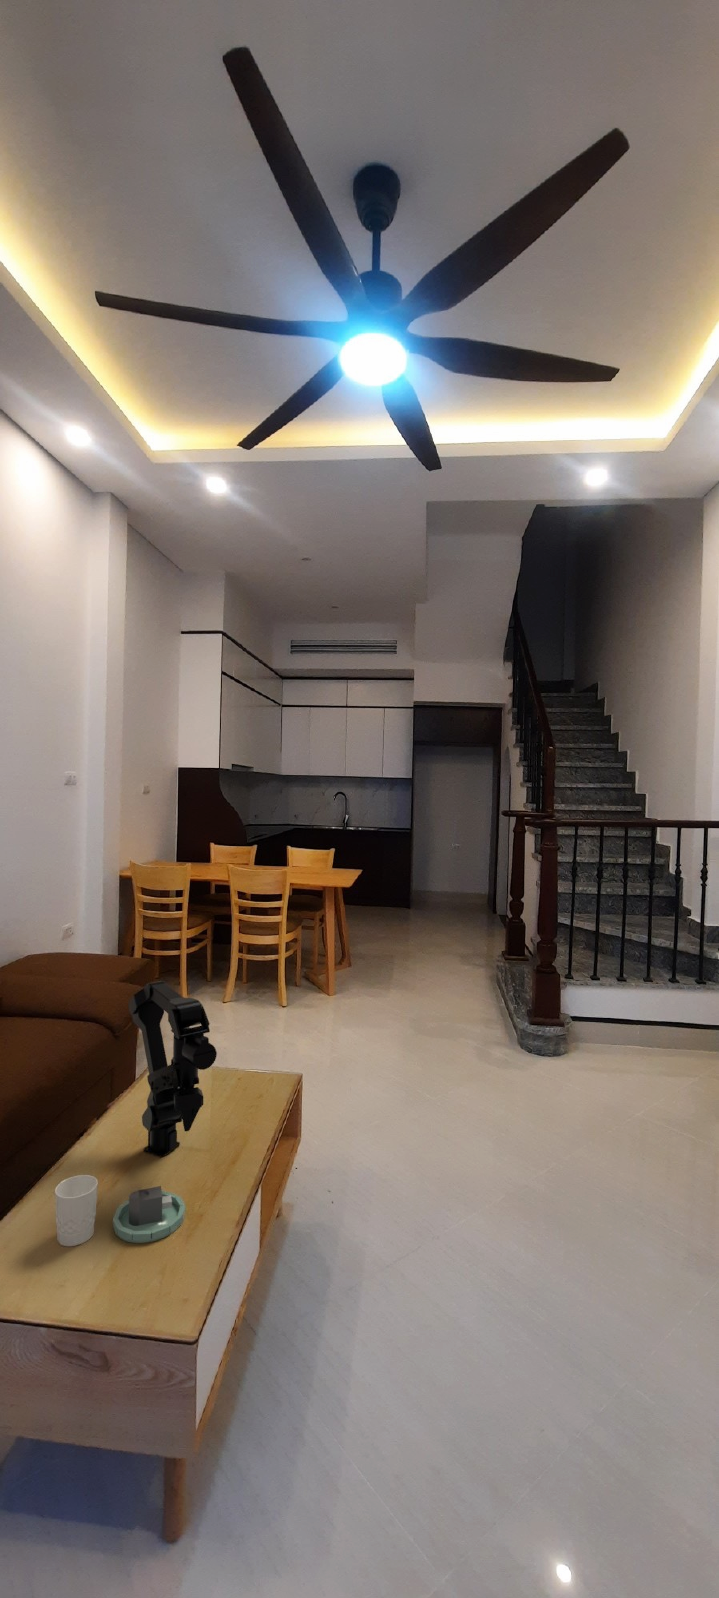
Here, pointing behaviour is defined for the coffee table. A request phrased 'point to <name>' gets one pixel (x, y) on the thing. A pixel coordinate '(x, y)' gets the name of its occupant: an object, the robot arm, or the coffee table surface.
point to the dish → (152, 1230)
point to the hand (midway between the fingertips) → (184, 1121)
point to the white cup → (75, 1209)
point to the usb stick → (147, 1206)
